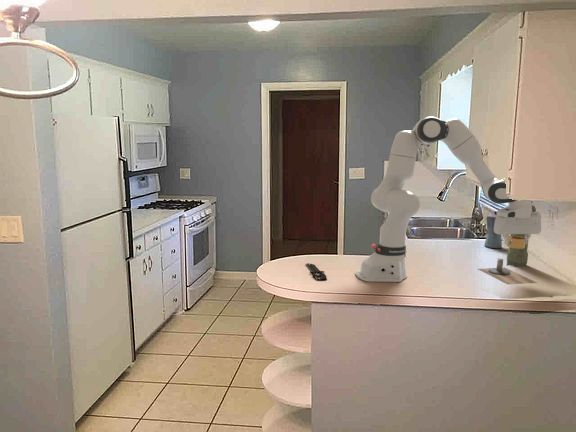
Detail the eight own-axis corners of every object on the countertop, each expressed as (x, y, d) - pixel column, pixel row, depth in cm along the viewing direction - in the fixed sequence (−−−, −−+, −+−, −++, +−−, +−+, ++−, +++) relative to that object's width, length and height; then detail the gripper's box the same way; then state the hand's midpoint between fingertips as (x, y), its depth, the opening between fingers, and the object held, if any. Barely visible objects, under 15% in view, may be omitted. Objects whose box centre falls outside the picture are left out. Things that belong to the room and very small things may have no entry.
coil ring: (513, 248, 201) (514, 239, 200) (503, 244, 207) (504, 235, 207) (527, 248, 202) (528, 239, 201) (517, 244, 208) (518, 235, 208)
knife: (304, 264, 231) (304, 261, 231) (318, 264, 232) (318, 261, 232) (313, 281, 206) (313, 278, 205) (328, 281, 206) (328, 278, 206)
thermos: (525, 271, 224) (533, 196, 217) (500, 265, 232) (507, 193, 226) (533, 267, 229) (541, 195, 223) (508, 262, 238) (515, 192, 232)
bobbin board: (507, 287, 200) (509, 270, 199) (477, 272, 221) (478, 256, 220) (537, 285, 203) (538, 268, 201) (504, 270, 224) (505, 255, 223)
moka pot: (495, 243, 276) (499, 209, 272) (508, 250, 260) (512, 214, 257) (479, 243, 275) (482, 209, 271) (491, 250, 260) (494, 214, 256)
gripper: (536, 210, 207) (532, 241, 209) (493, 211, 203) (490, 242, 206) (546, 213, 201) (542, 245, 203) (502, 213, 197) (498, 246, 200)
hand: (515, 244), depth 205 cm, fingers closed on coil ring, 7 cm apart
